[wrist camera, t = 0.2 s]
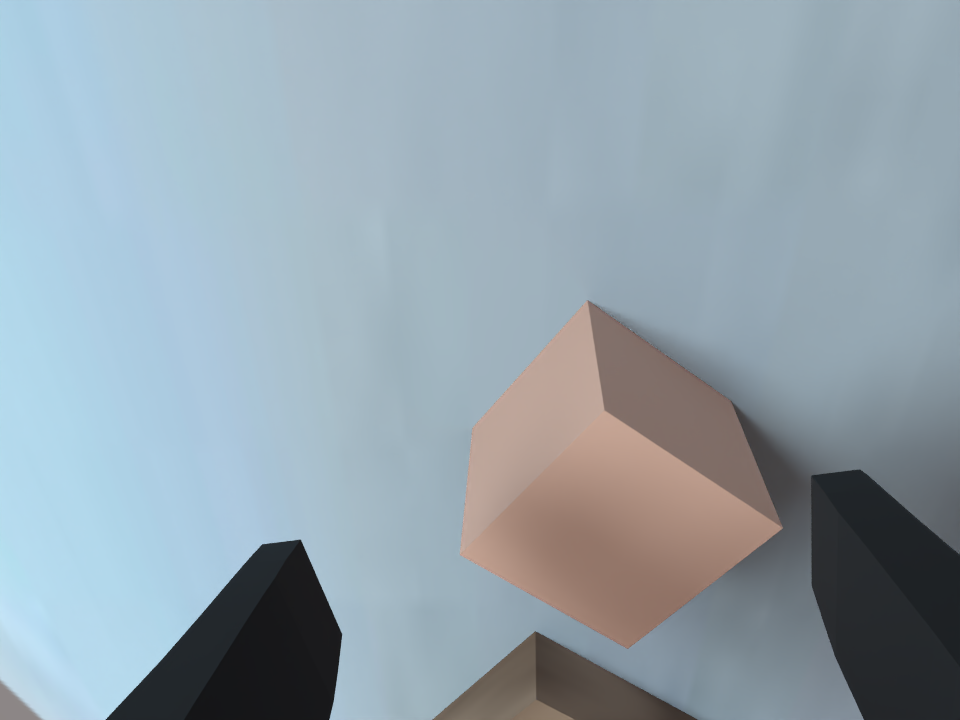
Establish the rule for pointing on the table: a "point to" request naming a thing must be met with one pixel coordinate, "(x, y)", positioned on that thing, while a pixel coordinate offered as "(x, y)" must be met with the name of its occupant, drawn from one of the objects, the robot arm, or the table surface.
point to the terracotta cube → (612, 482)
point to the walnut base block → (555, 690)
